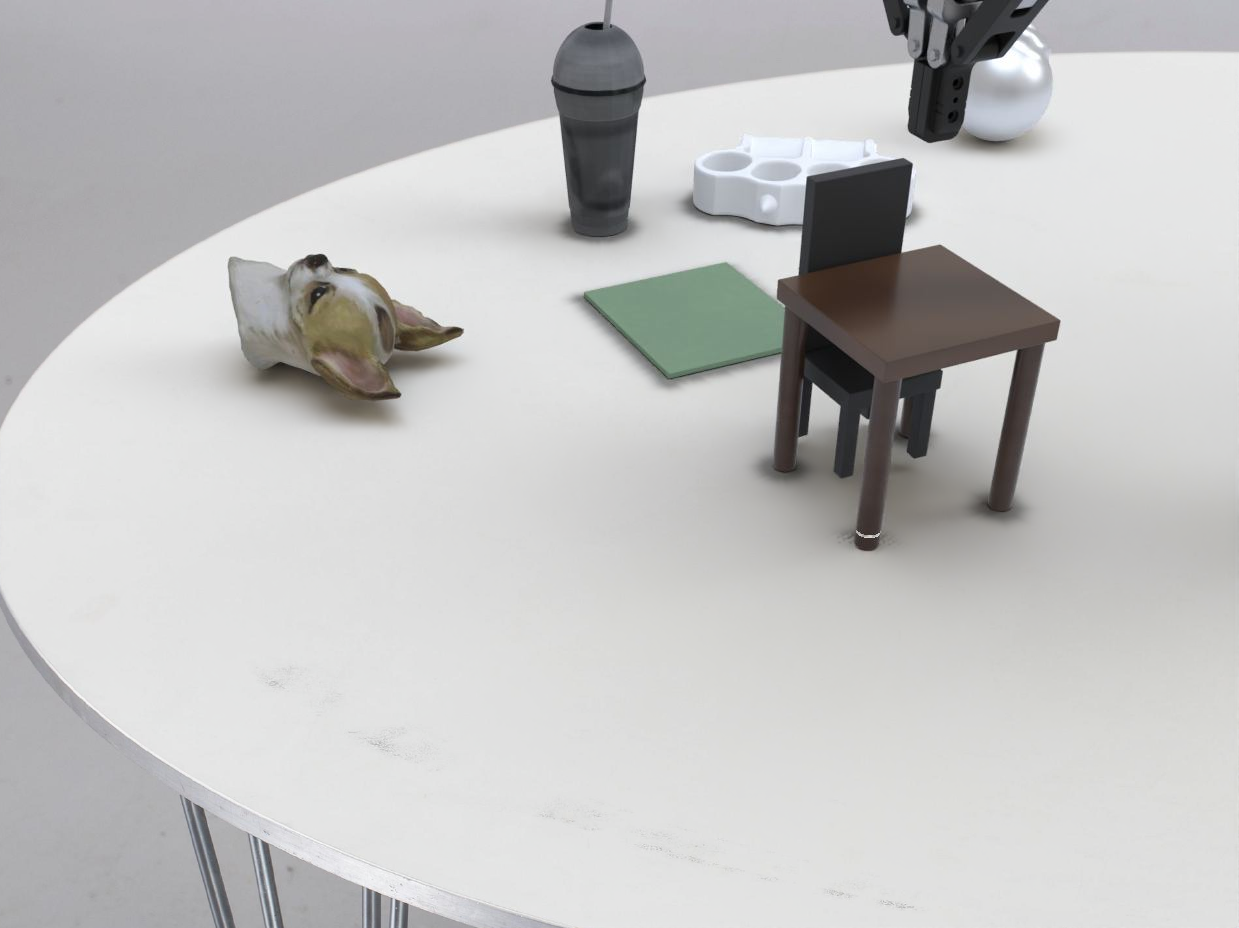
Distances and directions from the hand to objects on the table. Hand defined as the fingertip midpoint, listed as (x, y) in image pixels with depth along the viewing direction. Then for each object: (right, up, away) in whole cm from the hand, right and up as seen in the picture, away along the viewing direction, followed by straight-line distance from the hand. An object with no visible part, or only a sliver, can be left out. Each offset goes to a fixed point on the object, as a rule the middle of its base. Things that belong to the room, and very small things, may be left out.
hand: (932, 135), depth 74 cm
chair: (-1, -14, +16) cm, 21 cm away
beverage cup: (-17, +8, +44) cm, 47 cm away
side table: (0, -16, +13) cm, 21 cm away
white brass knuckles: (0, +11, +47) cm, 49 cm away
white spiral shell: (+20, +20, +58) cm, 64 cm away
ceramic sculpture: (-35, -8, +25) cm, 43 cm away
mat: (-10, -2, +30) cm, 32 cm away
